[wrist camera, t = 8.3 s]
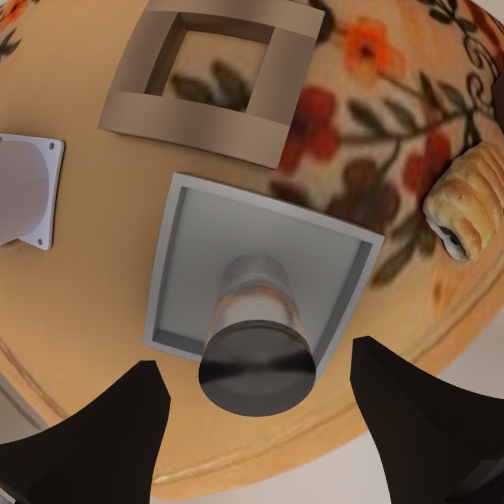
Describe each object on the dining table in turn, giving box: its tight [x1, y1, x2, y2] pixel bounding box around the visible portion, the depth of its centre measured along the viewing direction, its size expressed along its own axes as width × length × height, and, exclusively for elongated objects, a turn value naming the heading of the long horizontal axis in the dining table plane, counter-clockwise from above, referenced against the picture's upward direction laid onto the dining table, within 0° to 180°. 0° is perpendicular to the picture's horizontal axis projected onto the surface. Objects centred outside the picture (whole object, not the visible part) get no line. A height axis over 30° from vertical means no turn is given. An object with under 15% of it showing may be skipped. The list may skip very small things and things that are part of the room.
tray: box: [143, 172, 385, 386], centre depth 16 cm, size 12×11×2 cm
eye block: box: [97, 0, 325, 170], centre depth 13 cm, size 10×10×2 cm
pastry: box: [423, 141, 504, 263], centre depth 14 cm, size 9×7×4 cm
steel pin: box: [198, 253, 316, 417], centre depth 13 cm, size 4×4×8 cm
